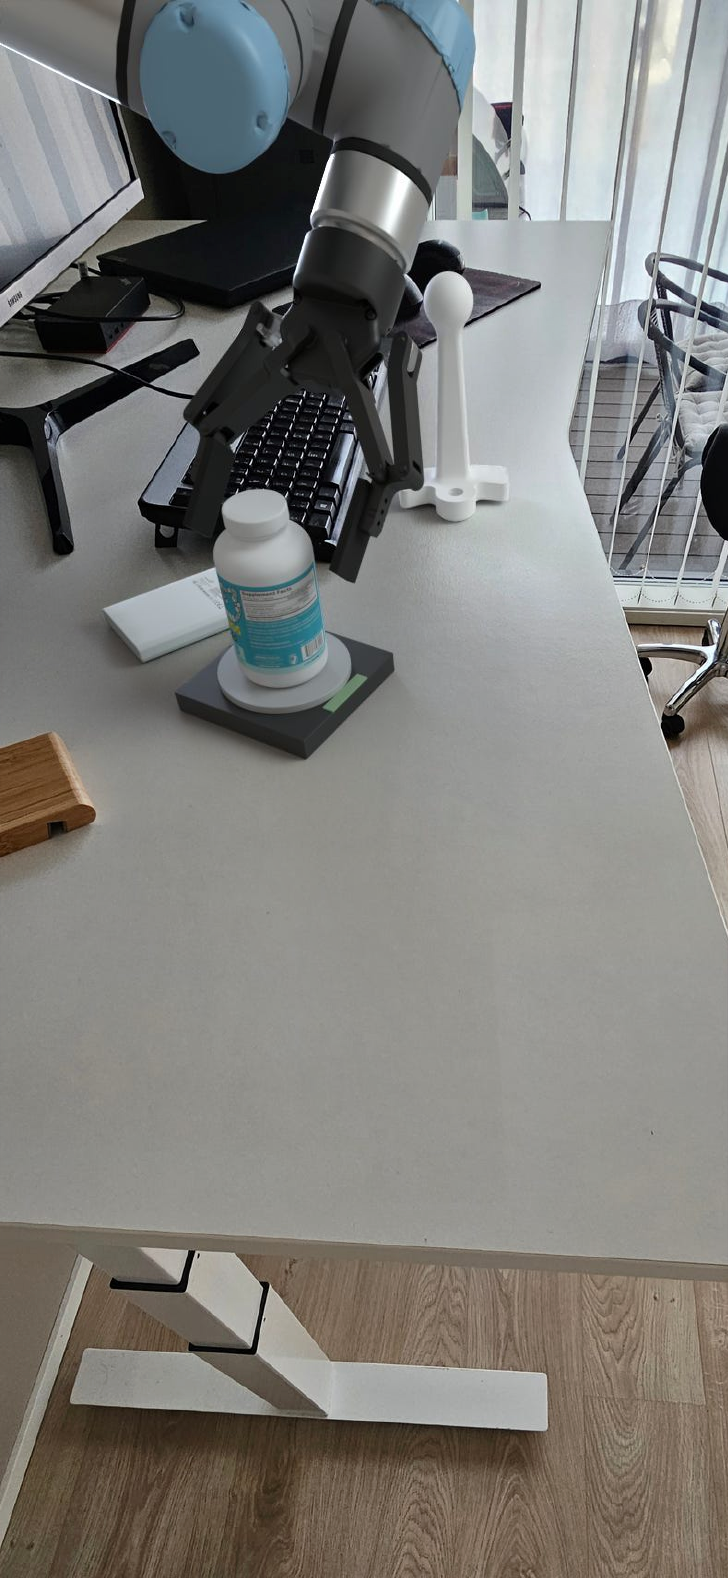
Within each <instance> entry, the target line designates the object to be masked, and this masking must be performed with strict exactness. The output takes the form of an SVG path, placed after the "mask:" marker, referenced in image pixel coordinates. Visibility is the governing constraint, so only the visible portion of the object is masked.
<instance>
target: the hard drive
mask: <svg viewBox="0 0 728 1578" xmlns="http://www.w3.org/2000/svg"><path fill="white" fill-rule="evenodd" d="M101 611H102V613H103V614H102V615H103V617H104V619H105V621H106V623H107V625H108V626H109V627H110V628H111V629H112V631H114V633H115V634H116V635H117V636H118V637H119V638H120V640H121V641H122V642H123V643H124V644H125V645H126V647H128V648H129V650H130V651H131V652H132V653H133V654H134V656H136V658H137V659H138V660H139V661H140V662H141V663H143V664H144V663H146V662H149V661H152V660H153V659H156V658H159V657H161V656H164V655H167V654H169V653H170V652H173V651H174V652H175V651H176V650H179V649H182V648H183V647H186V646H189V645H192V644H194V643H196V642H198V641H201V640H203V639H207V638H209V637H211V636H214V635H216V634H218V633H219V634H220V633H221V632H224V631H226V630H230V627H229V623H228V619H227V615H226V610H225V606H224V602H223V598H222V594H221V590H220V586H219V581H218V577H217V573H216V569H215V566H214V567H212V568H209V569H206V570H204V571H201V572H198V573H196V574H193V575H189V576H187V577H184V578H182V579H179V580H176V581H174V582H171V583H168V584H166V585H163V586H160V587H158V588H155V589H151V590H149V591H146V592H144V593H141V594H139V595H135V596H133V597H129V598H128V599H124V600H122V601H119V602H117V603H114V604H112V605H109V606H106V607H104V608H102V609H101Z"/></svg>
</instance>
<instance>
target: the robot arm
mask: <svg viewBox="0 0 728 1578" xmlns="http://www.w3.org/2000/svg"><path fill="white" fill-rule="evenodd" d="M0 46H2V47H5V48H6V49H8V50H11V51H13V52H14V53H16V54H19V55H21V56H23V57H24V58H27V59H28V60H29V61H33V62H34V63H37V64H39V65H40V66H42V67H45V68H46V69H49V70H50V71H53V72H55V73H57V74H59V75H61V76H63V77H65V78H66V79H68V80H70V81H73V82H75V83H77V84H79V85H81V86H83V87H84V88H87V89H89V90H91V91H93V92H95V93H97V94H99V95H101V96H103V97H105V98H107V99H109V100H110V101H113V102H115V103H117V104H119V105H121V106H123V107H125V108H127V109H129V110H131V111H133V112H135V113H137V114H139V115H140V116H143V117H144V118H146V119H148V120H150V122H151V124H152V127H153V128H154V130H155V131H156V133H157V134H158V135H159V137H160V138H161V140H162V141H163V143H164V144H165V145H166V147H168V148H169V149H170V151H172V153H173V154H174V155H175V156H176V157H178V158H179V159H180V160H181V161H183V162H184V163H186V164H187V165H188V166H191V167H193V168H195V169H197V170H200V171H202V172H205V173H208V174H209V173H210V174H216V175H217V174H228V173H233V172H236V171H238V170H239V171H240V170H241V169H243V168H244V167H246V166H248V165H249V164H250V163H252V162H253V161H254V160H255V159H257V158H258V157H259V156H261V155H262V154H264V153H265V152H266V151H267V150H268V149H269V148H270V146H272V144H273V143H274V142H275V141H276V140H277V137H278V135H279V133H280V130H281V129H282V126H284V124H285V122H286V119H287V118H288V119H290V120H292V121H293V122H296V123H297V124H299V125H301V126H303V127H305V128H307V129H309V130H311V131H313V132H314V133H315V134H318V135H320V136H324V137H326V138H327V139H330V140H332V141H333V144H332V147H331V150H330V153H329V156H328V161H327V163H326V166H325V170H324V171H323V172H324V173H323V176H322V178H321V183H320V186H319V190H318V192H317V195H316V199H315V202H314V205H313V208H312V212H311V214H310V225H311V228H312V229H311V230H309V231H308V232H306V234H305V237H304V240H303V244H302V247H301V251H300V253H299V257H298V261H297V264H296V267H295V271H294V273H293V278H292V294H293V295H292V302H291V305H290V307H289V308H288V310H287V312H286V313H284V315H281V314H278V313H276V312H274V311H270V310H269V308H267V306H266V305H265V304H263V302H261V301H260V300H256V301H253V302H252V304H251V305H250V307H249V308H248V312H247V314H246V317H245V319H244V322H243V325H242V327H241V331H239V333H238V334H237V335H236V336H235V338H234V339H233V341H232V343H231V344H230V345H229V346H228V348H227V350H226V351H225V352H224V354H223V355H222V357H221V358H220V359H219V360H218V362H217V363H216V365H215V366H214V367H213V369H212V370H211V372H210V373H209V374H208V376H207V377H206V379H205V380H204V381H203V383H202V384H201V385H200V387H199V388H198V390H197V391H196V392H195V393H194V395H193V396H192V398H191V399H190V400H189V402H188V403H187V404H186V406H185V408H184V409H183V413H182V417H183V420H184V421H186V422H187V423H188V424H190V426H191V427H193V428H194V429H195V430H197V432H198V434H199V442H198V444H197V448H196V452H195V456H194V460H193V463H192V465H191V469H190V481H192V482H193V486H192V489H191V493H190V496H189V499H188V503H187V507H186V510H185V514H184V517H183V520H182V525H183V526H185V527H186V528H188V529H190V530H192V531H194V532H195V533H197V534H199V535H201V536H203V537H205V538H208V539H212V538H213V534H214V532H215V527H216V526H217V525H216V524H217V521H218V518H219V514H220V510H221V509H222V505H223V500H224V497H225V494H226V490H227V487H228V484H229V480H230V476H231V473H232V469H233V466H234V464H235V461H236V456H237V453H235V452H234V450H233V449H232V446H231V445H232V444H233V443H234V442H236V441H237V440H238V439H239V438H240V437H241V436H242V435H244V434H245V432H247V431H248V430H249V429H250V428H252V426H254V425H255V424H256V423H257V422H258V421H260V420H261V419H262V418H263V417H264V416H265V415H266V414H268V413H269V411H271V410H272V409H273V408H274V407H275V406H277V404H279V403H280V402H282V401H283V399H284V398H286V397H287V396H290V395H291V396H293V395H296V394H297V393H299V392H300V391H301V390H302V389H303V390H305V391H306V392H308V393H312V394H327V395H328V396H330V397H331V398H332V399H337V400H341V401H342V400H343V397H344V398H345V401H346V404H347V408H348V411H349V414H350V417H351V421H352V424H353V426H354V430H355V432H356V436H357V439H358V443H359V446H360V448H361V452H362V455H363V459H364V461H365V465H366V468H367V470H368V471H366V472H365V475H366V476H367V477H368V478H369V479H370V480H371V481H369V480H368V479H365V478H363V477H362V478H361V477H357V478H356V479H357V480H356V482H355V486H354V489H353V492H352V493H351V494H352V495H351V498H350V501H349V504H348V507H347V511H346V514H345V517H344V519H343V522H342V526H341V528H340V529H341V530H340V532H339V535H338V539H337V541H336V545H335V548H334V550H333V551H334V552H333V553H332V558H331V561H330V564H329V567H328V571H330V572H331V573H333V574H334V575H336V576H337V577H339V578H341V579H343V580H344V581H346V582H348V583H352V584H356V582H357V579H358V575H359V572H360V569H361V567H362V563H363V560H364V556H365V554H366V550H367V548H368V545H369V542H370V539H371V537H372V538H375V539H378V537H379V536H380V534H381V533H382V531H383V530H384V529H383V528H384V525H385V522H386V519H387V516H388V514H389V510H390V507H391V505H392V501H393V499H394V496H395V495H396V494H397V493H399V491H401V490H407V489H411V490H413V491H418V490H420V489H421V488H422V487H423V485H424V470H423V469H424V459H423V445H422V433H421V422H420V409H419V408H420V407H419V393H418V379H419V374H420V370H421V366H422V361H423V353H422V350H421V349H420V347H418V346H417V344H416V343H415V342H414V340H413V339H412V338H411V337H410V335H409V334H408V333H407V332H406V331H404V330H400V331H397V332H396V333H395V334H394V336H393V337H387V335H388V334H389V333H390V332H391V331H392V329H393V327H394V324H395V321H396V319H397V315H398V312H399V309H400V306H401V302H402V299H403V296H404V293H405V290H406V287H407V280H406V277H405V275H407V274H408V273H409V272H410V271H411V269H412V266H413V263H414V259H415V256H416V253H417V250H418V247H419V244H420V240H421V237H422V236H423V235H422V234H423V231H424V228H425V225H426V222H427V219H428V215H429V211H430V208H431V205H432V202H433V200H434V196H435V193H436V191H437V187H438V184H439V182H440V179H441V175H442V172H443V169H444V166H445V163H446V160H447V157H448V154H449V151H450V148H451V145H452V141H453V139H454V135H455V133H456V129H457V127H458V124H459V120H460V118H461V114H462V112H463V109H464V102H465V97H466V94H467V91H468V87H469V83H470V79H471V76H472V72H473V68H474V64H475V61H476V60H475V59H476V49H477V44H476V36H475V32H474V28H473V25H472V23H471V20H470V19H469V16H468V15H467V12H466V11H465V9H464V8H463V7H462V6H461V4H460V3H459V2H458V1H457V0H372V1H371V3H370V2H368V1H367V0H0ZM280 340H281V341H280ZM382 363H383V366H384V367H385V368H386V379H387V382H386V383H387V392H388V405H389V417H390V430H391V431H390V432H391V442H392V443H391V444H392V453H391V451H390V447H389V444H388V441H387V438H386V435H385V432H384V428H383V426H382V425H383V424H382V422H381V419H380V416H379V412H378V410H377V407H376V404H377V400H376V397H375V393H374V391H373V387H372V384H371V381H370V378H369V377H370V375H371V374H372V373H373V372H374V371H375V370H376V369H377V368H378V367H379V366H380V365H381V364H382ZM286 365H287V369H288V370H286V369H285V368H284V367H286Z"/></svg>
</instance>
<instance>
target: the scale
mask: <svg viewBox="0 0 728 1578" xmlns="http://www.w3.org/2000/svg"><path fill="white" fill-rule="evenodd" d="M325 633H326V640H327V647H328V658H327V662H326V664H325V666H324V668H323V669H322V670H321V671H320V672H319V673H318V674H317V675H316V676H315V677H313V678H312V679H310V680H308V681H306V682H304V683H302V684H299V685H295V686H291V687H284V688H273V687H266V686H262V685H259V684H257V683H254V682H252V681H251V680H249V679H248V678H247V677H246V676H245V675H244V674H243V673H242V671H241V669H240V667H239V665H238V661H237V657H236V653H235V649H234V644H233V642H232V643H231V644H230V645H229V646H227V647H226V648H225V649H224V650H223V651H222V652H221V653H220V654H218V655H217V656H216V657H215V658H214V659H211V661H210V662H209V663H207V664H206V665H205V666H204V667H203V668H202V669H200V670H199V671H198V672H197V673H196V674H195V675H194V676H192V677H191V678H190V679H188V681H186V682H185V683H184V684H183V685H182V686H180V687H179V688H178V689H176V691H174V696H175V699H176V703H177V706H178V709H179V711H182V712H183V713H187V714H189V715H191V716H194V717H197V718H200V719H201V720H204V721H207V722H210V723H212V724H215V725H218V726H219V727H223V728H225V729H227V730H230V731H233V732H236V733H238V734H239V735H243V736H246V737H249V738H250V739H253V740H255V741H258V742H261V743H264V744H266V745H268V746H272V747H274V748H277V749H279V750H282V751H285V752H287V753H290V754H292V755H294V756H297V757H300V758H302V759H304V760H308V759H309V757H311V755H313V753H315V752H316V751H317V749H318V748H320V746H321V745H322V744H323V743H324V742H325V741H326V740H328V739H329V737H331V735H332V734H333V733H334V732H335V731H336V730H337V729H338V728H339V727H340V726H342V724H343V723H344V722H345V721H346V720H348V718H349V717H350V716H351V715H352V714H353V713H354V712H355V711H356V710H357V709H358V708H359V707H360V706H361V705H362V704H363V703H364V702H365V701H366V700H367V699H369V697H370V696H371V695H372V694H373V693H374V692H375V691H376V690H377V689H378V688H379V687H380V686H381V685H382V684H383V683H384V682H385V681H386V680H387V679H388V678H389V677H390V676H391V675H392V674H393V673H394V672H395V659H394V653H393V652H391V651H389V650H386V649H382V648H380V647H377V646H374V645H371V644H367V643H364V642H362V641H358V640H355V639H352V638H350V637H347V636H343V635H340V634H338V633H334V632H331V631H329V630H328V631H327V630H325Z"/></svg>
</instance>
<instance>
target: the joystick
mask: <svg viewBox="0 0 728 1578" xmlns="http://www.w3.org/2000/svg"><path fill="white" fill-rule="evenodd" d="M473 308H474V295H473V291H472V288H471V285H470V284H469V282H468V281H467V280H466V278H465V277H464V276H462V275H461V274H459V273H457V272H455V271H451V270H447V271H442V272H439V273H437V274H436V275H434V276H433V277H432V278H431V279H430V280H429V282H428V284H426V287H425V289H424V293H423V309H424V313H425V315H426V318H427V320H428V321H429V322H430V323H431V325H432V326H433V328H434V330H435V333H436V376H435V377H436V380H435V382H436V384H435V385H436V386H435V450H434V451H435V453H434V454H435V456H434V466H432V467H426V468H425V467H424V468H423V470H424V485H423V487H422V488H421V489H420V490H418V491H413V490H411V489H407V490H401V491H398V493H399V494H398V496H399V506H400V507H401V508H402V509H410V508H414V507H417V506H421V505H426V504H431V505H434V506H435V512H436V514H437V515H438V516H439V517H441V519H443V520H445V521H448V522H462V521H465V520H467V519H469V518H470V517H471V516H472V515H474V514H475V512H476V510H477V505H476V504H477V503H476V502H477V501H480V500H486V501H495V502H507V501H508V500H509V499H510V478H509V474H508V470H507V467H506V466H503V465H491V464H471V463H470V461H471V460H470V447H469V445H470V444H469V432H468V430H469V429H468V414H467V413H468V412H467V400H466V386H465V385H466V383H465V367H464V353H463V352H464V351H463V331H464V327H465V325H466V323H467V322H468V320H469V319H470V317H471V315H472V313H473Z"/></svg>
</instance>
